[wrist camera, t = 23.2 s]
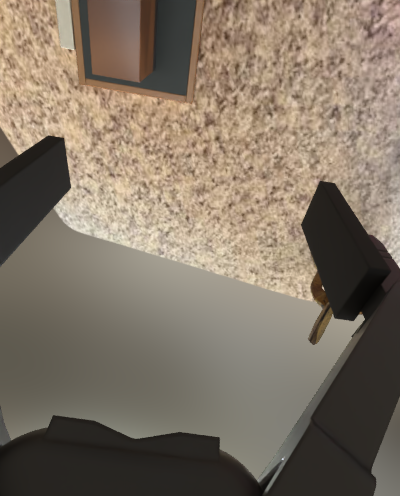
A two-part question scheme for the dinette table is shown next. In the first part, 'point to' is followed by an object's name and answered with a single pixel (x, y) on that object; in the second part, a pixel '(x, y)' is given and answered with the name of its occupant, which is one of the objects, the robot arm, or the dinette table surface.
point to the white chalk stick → (65, 24)
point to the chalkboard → (167, 52)
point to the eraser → (123, 38)
